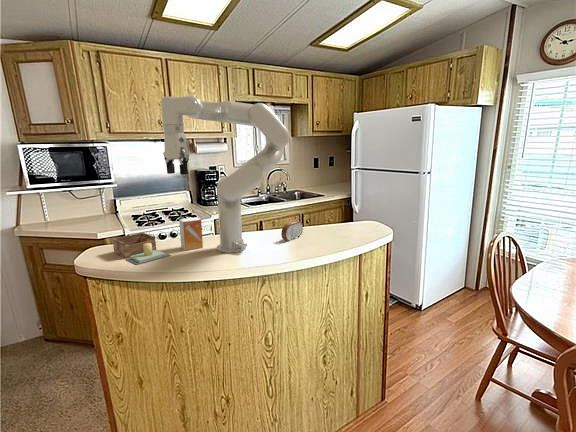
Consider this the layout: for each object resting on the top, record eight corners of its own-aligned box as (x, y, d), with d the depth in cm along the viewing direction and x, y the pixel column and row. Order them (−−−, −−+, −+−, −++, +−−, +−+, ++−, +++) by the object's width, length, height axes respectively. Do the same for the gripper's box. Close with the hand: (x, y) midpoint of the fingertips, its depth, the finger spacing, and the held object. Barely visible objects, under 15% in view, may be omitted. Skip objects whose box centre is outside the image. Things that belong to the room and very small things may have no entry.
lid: (166, 255, 131) (164, 242, 130) (140, 262, 123) (138, 249, 122) (156, 251, 136) (155, 239, 135) (130, 258, 128) (129, 245, 127)
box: (156, 250, 138) (155, 236, 137) (125, 258, 129) (123, 243, 127) (144, 246, 145) (142, 232, 144) (114, 253, 136) (112, 238, 134)
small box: (185, 251, 138) (182, 221, 135) (181, 247, 143) (178, 219, 140) (203, 247, 142) (201, 219, 140) (198, 244, 147) (196, 216, 145)
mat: (170, 255, 132) (170, 255, 132) (136, 265, 122) (136, 264, 122) (159, 251, 138) (159, 250, 138) (125, 259, 128) (125, 259, 127)
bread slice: (298, 235, 162) (298, 218, 160) (304, 235, 160) (304, 219, 158) (280, 242, 150) (280, 224, 148) (286, 243, 148) (286, 225, 146)
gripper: (194, 129, 123) (198, 174, 127) (170, 131, 134) (174, 172, 138) (177, 128, 117) (181, 175, 121) (153, 130, 128) (157, 173, 132)
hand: (177, 174), depth 129 cm, fingers open, 9 cm apart
